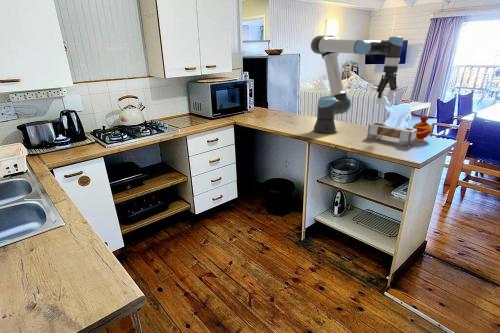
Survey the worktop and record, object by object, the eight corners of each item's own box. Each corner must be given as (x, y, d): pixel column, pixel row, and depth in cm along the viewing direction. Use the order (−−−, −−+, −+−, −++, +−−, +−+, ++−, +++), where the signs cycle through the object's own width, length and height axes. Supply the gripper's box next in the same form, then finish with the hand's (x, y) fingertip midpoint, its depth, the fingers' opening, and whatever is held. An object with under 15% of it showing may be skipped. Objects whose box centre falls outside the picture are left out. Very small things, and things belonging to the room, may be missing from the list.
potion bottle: (419, 143, 176) (424, 118, 171) (406, 138, 186) (411, 115, 180) (433, 141, 179) (439, 117, 173) (420, 137, 188) (425, 114, 183)
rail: (374, 133, 186) (375, 126, 184) (377, 132, 189) (378, 125, 187) (407, 140, 172) (408, 131, 171) (409, 138, 175) (411, 130, 173)
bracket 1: (382, 137, 190) (384, 123, 186) (375, 139, 184) (377, 125, 181) (373, 135, 194) (375, 122, 190) (366, 137, 189) (368, 124, 185)
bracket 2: (398, 144, 175) (400, 129, 171) (404, 141, 180) (407, 127, 176) (408, 146, 170) (411, 131, 167) (414, 143, 175) (417, 129, 172)
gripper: (387, 67, 160) (380, 105, 169) (407, 64, 175) (399, 100, 184) (374, 66, 166) (368, 103, 174) (394, 64, 181) (387, 98, 189)
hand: (384, 102), depth 179 cm, fingers open, 13 cm apart
